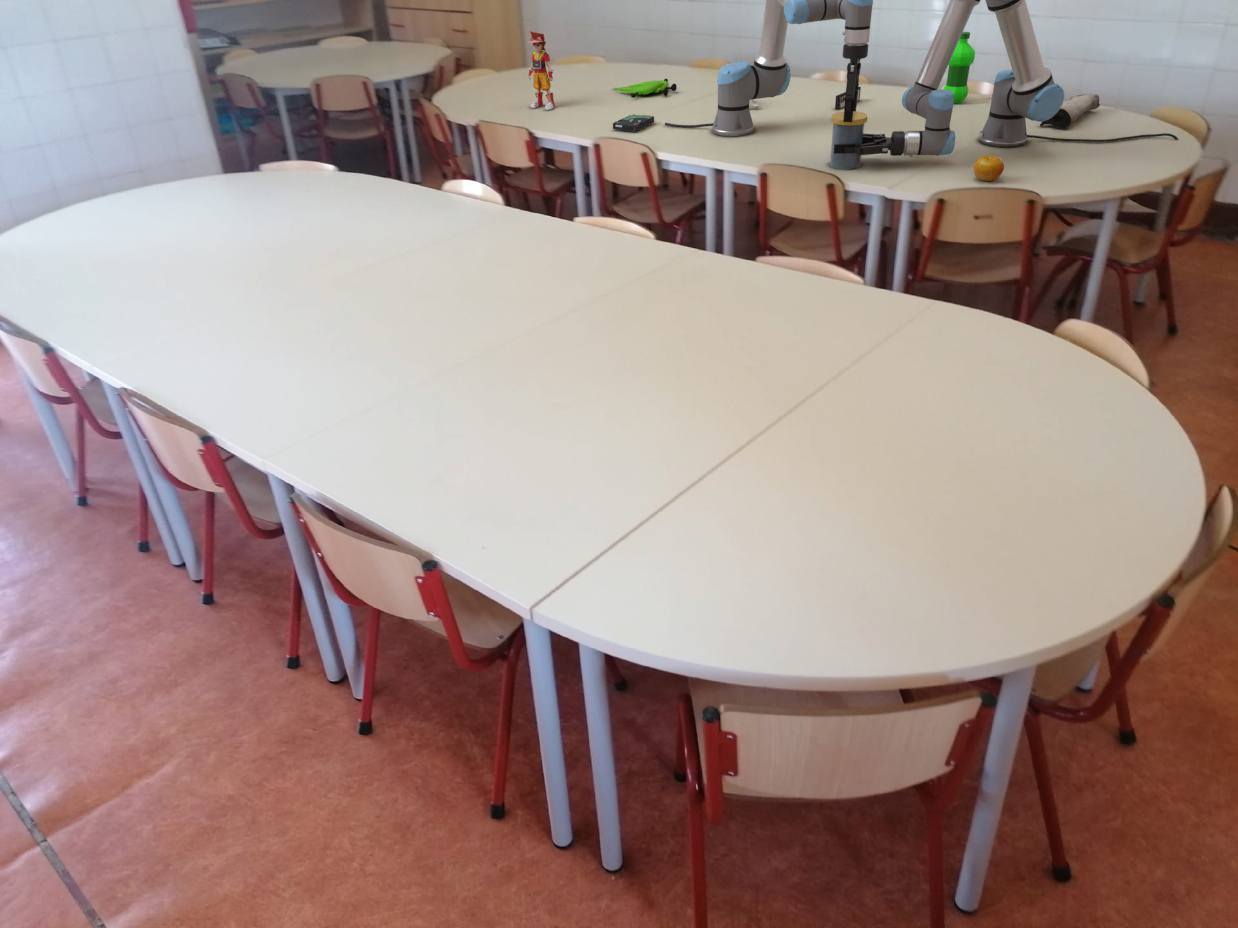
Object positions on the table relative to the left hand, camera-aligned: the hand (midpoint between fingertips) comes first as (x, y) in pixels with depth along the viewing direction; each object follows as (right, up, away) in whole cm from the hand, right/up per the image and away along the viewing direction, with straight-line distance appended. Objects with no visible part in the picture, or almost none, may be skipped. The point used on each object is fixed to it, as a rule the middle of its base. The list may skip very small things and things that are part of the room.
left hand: (849, 117), depth 287 cm
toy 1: (-107, +41, +96) cm, 149 cm away
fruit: (+40, -24, -11) cm, 47 cm away
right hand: (-4, -7, +6) cm, 10 cm away
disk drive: (-68, +20, +62) cm, 94 cm away
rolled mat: (+90, +14, +39) cm, 100 cm away
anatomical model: (-23, +35, +80) cm, 90 cm away
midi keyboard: (+18, +33, +73) cm, 82 cm away
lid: (0, 0, 0) cm, 0 cm away
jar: (+1, -12, +9) cm, 15 cm away
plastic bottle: (+59, +32, +68) cm, 95 cm away
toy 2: (-64, +54, +110) cm, 138 cm away
